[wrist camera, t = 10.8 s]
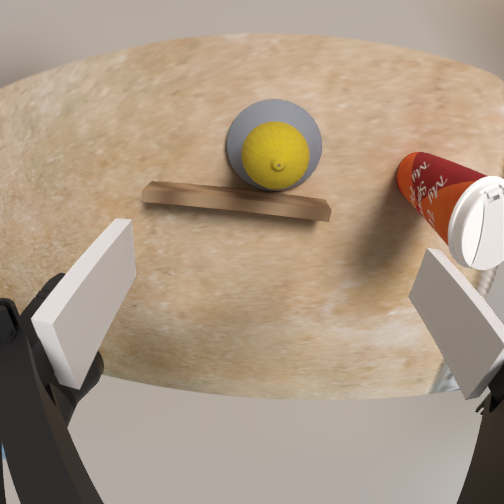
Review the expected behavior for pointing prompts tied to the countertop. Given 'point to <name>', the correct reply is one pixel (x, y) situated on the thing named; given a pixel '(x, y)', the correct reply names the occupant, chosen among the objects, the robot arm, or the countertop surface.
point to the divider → (237, 200)
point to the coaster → (270, 113)
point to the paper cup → (457, 207)
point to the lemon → (275, 155)
